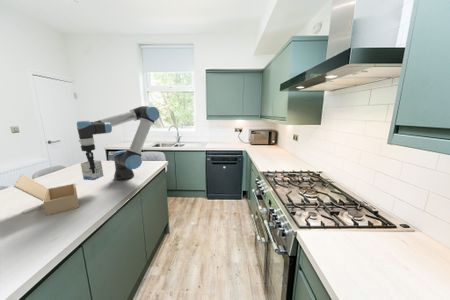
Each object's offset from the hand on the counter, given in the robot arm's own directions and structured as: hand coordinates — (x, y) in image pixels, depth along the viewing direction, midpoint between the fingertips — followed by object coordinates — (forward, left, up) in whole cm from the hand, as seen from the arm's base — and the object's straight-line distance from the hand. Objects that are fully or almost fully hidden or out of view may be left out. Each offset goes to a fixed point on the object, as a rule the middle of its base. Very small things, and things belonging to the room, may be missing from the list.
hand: (93, 175), depth 131 cm
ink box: (0, 0, -2) cm, 2 cm away
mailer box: (+18, +8, -12) cm, 23 cm away
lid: (+29, +8, +2) cm, 30 cm away
